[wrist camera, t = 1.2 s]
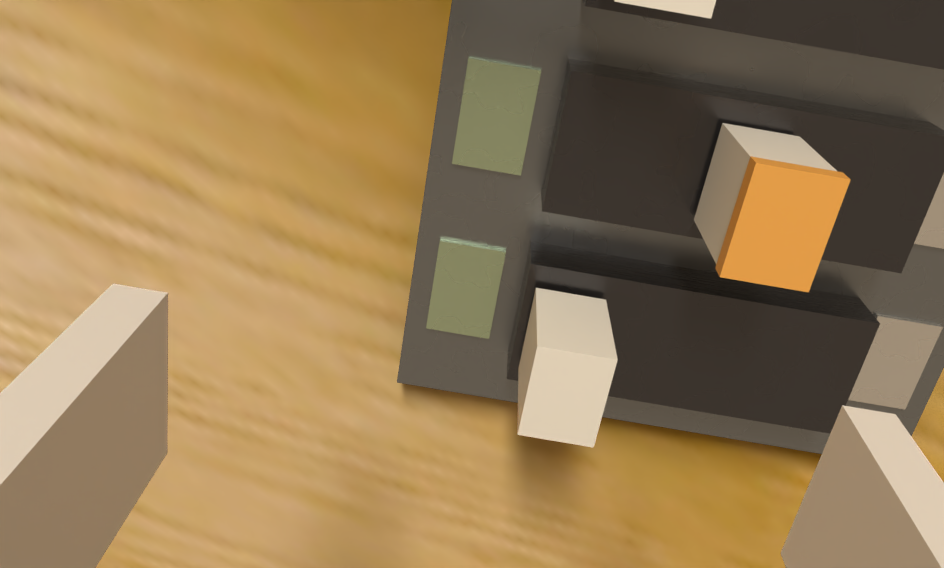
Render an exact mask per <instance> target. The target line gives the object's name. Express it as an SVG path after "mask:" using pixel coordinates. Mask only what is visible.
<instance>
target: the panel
mask: <svg viewBox="0 0 944 568" xmlns="http://www.w3.org/2000/svg"><path fill="white" fill-rule="evenodd" d="M722 123H726V124H731V125H737V126H743V127H748V128H754V129H760V130H766V131H771V132H777V133H783V134H788V135H794V136H800V137H801V138H802V139H803V140H804V141H805V142H806V143H807V144H808V145H809V146H811V147H812V148H813V149H814V150H815V151H816V152H817V153H818V154H819V155H820V156H821V157H823V158H824V159H825V160H826V161H827V162H828V163H829V164H830V165H831V166H832V167H833V168H835V169H836V170H837V171H838V172H843V173H844V174H845V175H846V176H847V177H849V178H850V179H851V180H850V183H849V186H848V188H847V191H846V194H845V196H844V199H843V202H842V204H841V207H840V210H839V212H838V215H837V218H836V220H835V223H834V226H833V228H832V231H831V234H830V237H829V239H828V242H827V245H826V247H825V250H824V253H823V255H822V258H821V261H820V263H819V266H818V269H817V271H816V274H815V277H814V279H813V282H812V285H811V288H810V290H809V292H803V291H797V290H792V289H786V288H780V287H774V286H768V285H762V284H757V283H751V282H745V281H739V280H733V279H727V278H722V277H719V275H718V273H717V271H716V269H715V267H716V263H715V261H714V259H713V257H712V255H711V253H710V251H709V249H708V247H707V245H706V243H705V241H704V239H703V237H702V235H701V233H700V231H699V229H698V227H697V225H696V223H695V221H694V218H695V214H696V211H697V207H698V204H699V201H700V197H701V194H702V190H703V187H704V184H705V180H706V177H707V173H708V170H709V167H710V163H711V160H712V156H713V153H714V150H715V146H716V143H717V140H718V136H719V133H720V129H721V126H722ZM536 288H541V289H547V290H553V291H558V292H564V293H570V294H576V295H582V296H588V297H593V298H599V299H605V300H606V302H607V307H608V312H609V318H610V323H611V328H612V333H613V338H614V343H615V349H616V354H617V359H618V360H617V364H616V368H615V371H614V375H613V379H612V382H611V386H610V390H609V393H608V397H607V401H606V404H605V408H604V412H603V415H602V417H605V418H611V419H617V420H623V421H629V422H635V423H641V424H647V425H653V426H659V427H665V428H671V429H677V430H683V431H689V432H695V433H700V434H706V435H712V436H718V437H724V438H730V439H736V440H742V441H748V442H754V443H760V444H766V445H772V446H778V447H784V448H789V449H795V450H801V451H807V452H813V453H819V454H822V453H823V450H824V448H825V445H826V443H827V441H828V438H829V436H830V433H831V431H832V429H833V426H834V424H835V421H836V419H837V417H838V414H839V412H840V409H841V407H842V405H843V406H849V407H855V408H861V409H867V410H873V411H879V412H885V413H891V414H896V415H897V417H898V418H899V420H900V421H901V423H902V424H903V425H904V427H905V428H906V430H907V431H908V433H909V434H910V435H911V436H912V434H913V432H914V429H915V427H916V425H917V423H918V421H919V419H920V417H921V415H922V412H923V410H924V408H925V406H926V404H927V402H928V400H929V398H930V395H931V393H932V391H933V389H934V387H935V385H936V383H937V381H938V378H939V376H940V374H941V372H942V370H943V368H944V0H716V3H715V6H714V10H713V14H712V17H711V19H710V18H704V17H699V16H693V15H687V14H682V13H676V12H670V11H665V10H659V9H654V8H648V7H642V6H637V5H631V4H625V3H620V2H615V1H614V0H452V5H451V12H450V19H449V26H448V33H447V40H446V46H445V53H444V60H443V67H442V74H441V81H440V88H439V95H438V102H437V109H436V116H435V123H434V130H433V136H432V143H431V150H430V157H429V164H428V171H427V178H426V185H425V192H424V199H423V206H422V213H421V220H420V226H419V233H418V240H417V247H416V254H415V261H414V268H413V275H412V282H411V289H410V296H409V303H408V310H407V316H406V323H405V330H404V337H403V344H402V351H401V358H400V365H399V372H398V379H397V382H398V383H404V384H410V385H416V386H421V387H427V388H433V389H439V390H445V391H451V392H457V393H463V394H469V395H475V396H481V397H487V398H493V399H499V400H505V401H511V402H516V403H518V368H519V363H520V359H521V354H522V349H523V345H524V340H525V336H526V331H527V326H528V322H529V317H530V312H531V308H532V303H533V299H534V294H535V289H536Z"/></svg>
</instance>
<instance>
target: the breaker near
mask: <svg viewBox="0 0 944 568" xmlns="http://www.w3.org/2000/svg"><path fill="white" fill-rule="evenodd" d="M614 1H615V2H620V3H625V4H631V5H637V6H642V7H648V8H654V9H659V10H665V11H670V12H676V13H682V14H687V15H693V16H699V17H704V18H710V19H711V17H712V14H713V10H714V6H715V3H716V0H614Z"/></svg>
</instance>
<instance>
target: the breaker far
mask: <svg viewBox="0 0 944 568" xmlns="http://www.w3.org/2000/svg"><path fill="white" fill-rule="evenodd" d="M617 360H618V359H617V354H616V349H615V343H614V338H613V333H612V328H611V323H610V318H609V312H608V307H607V302H606V300H605V299H599V298H593V297H588V296H582V295H576V294H570V293H564V292H558V291H553V290H547V289H541V288H536V289H535V294H534V299H533V303H532V308H531V312H530V317H529V322H528V326H527V331H526V336H525V340H524V345H523V349H522V354H521V359H520V363H519V368H518V433H517V435H522V436H528V437H534V438H540V439H546V440H552V441H558V442H564V443H570V444H576V445H581V446H587V447H593V448H594V444H595V441H596V437H597V433H598V430H599V426H600V423H601V419H602V415H603V412H604V408H605V404H606V401H607V397H608V393H609V390H610V386H611V382H612V379H613V375H614V371H615V368H616V364H617Z"/></svg>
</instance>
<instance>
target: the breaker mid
mask: <svg viewBox="0 0 944 568" xmlns="http://www.w3.org/2000/svg"><path fill="white" fill-rule="evenodd" d="M850 180H851V179H850V178H849V177H847V176H846V175H845V174H844V173H843V172H838V171H837V170H836V169H835V168H833V167H832V166H831V165H830V164H829V163H828V162H827V161H826V160H825V159H824V158H823V157H821V156H820V155H819V154H818V153H817V152H816V151H815V150H814V149H813V148H812V147H811V146H809V145H808V144H807V143H806V142H805V141H804V140H803V139H802V138H801V137H800V136H794V135H788V134H783V133H777V132H771V131H766V130H760V129H754V128H748V127H743V126H737V125H731V124H726V123H722V126H721V129H720V133H719V136H718V140H717V143H716V146H715V150H714V153H713V156H712V160H711V163H710V167H709V170H708V173H707V177H706V180H705V184H704V187H703V190H702V194H701V197H700V201H699V204H698V207H697V211H696V214H695V218H694V221H695V223H696V225H697V227H698V229H699V231H700V233H701V235H702V237H703V239H704V241H705V243H706V245H707V247H708V249H709V251H710V253H711V255H712V257H713V259H714V261H715V263H716V267H715V269H716V271H717V273H718V275H719V277H722V278H727V279H733V280H739V281H745V282H751V283H757V284H762V285H768V286H774V287H780V288H786V289H792V290H797V291H803V292H809V290H810V288H811V285H812V282H813V279H814V277H815V274H816V271H817V269H818V266H819V263H820V261H821V258H822V255H823V253H824V250H825V247H826V245H827V242H828V239H829V237H830V234H831V231H832V228H833V226H834V223H835V220H836V218H837V215H838V212H839V210H840V207H841V204H842V202H843V199H844V196H845V194H846V191H847V188H848V186H849V183H850Z"/></svg>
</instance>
